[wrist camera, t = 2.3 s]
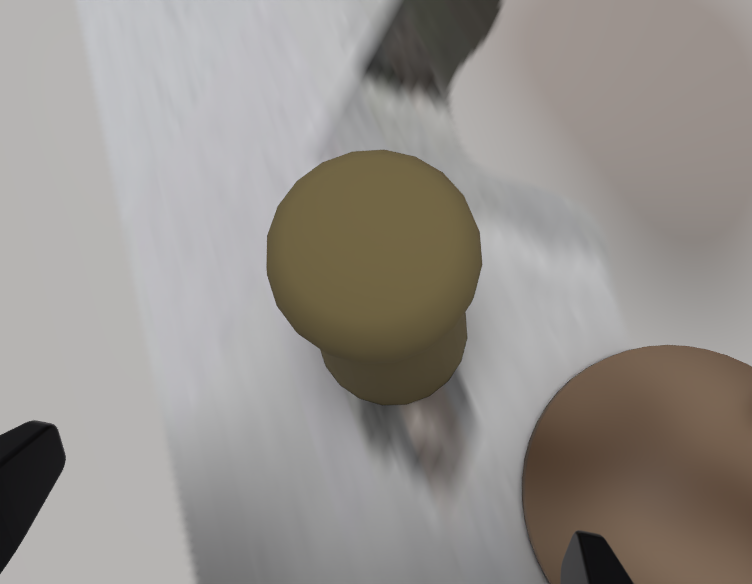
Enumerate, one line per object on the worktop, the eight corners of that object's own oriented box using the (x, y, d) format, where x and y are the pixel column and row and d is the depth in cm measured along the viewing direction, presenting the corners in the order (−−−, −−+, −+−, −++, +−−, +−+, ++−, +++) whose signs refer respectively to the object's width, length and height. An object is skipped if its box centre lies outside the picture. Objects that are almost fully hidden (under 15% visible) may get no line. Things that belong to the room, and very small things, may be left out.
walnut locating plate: (853, 702, 18) (979, 777, 14) (511, 643, 20) (536, 698, 15) (830, 367, 21) (931, 348, 17) (531, 333, 22) (557, 308, 18)
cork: (291, 365, 23) (178, 299, 12) (357, 236, 24) (307, 71, 13) (430, 432, 22) (440, 424, 11) (491, 293, 23) (553, 164, 12)
